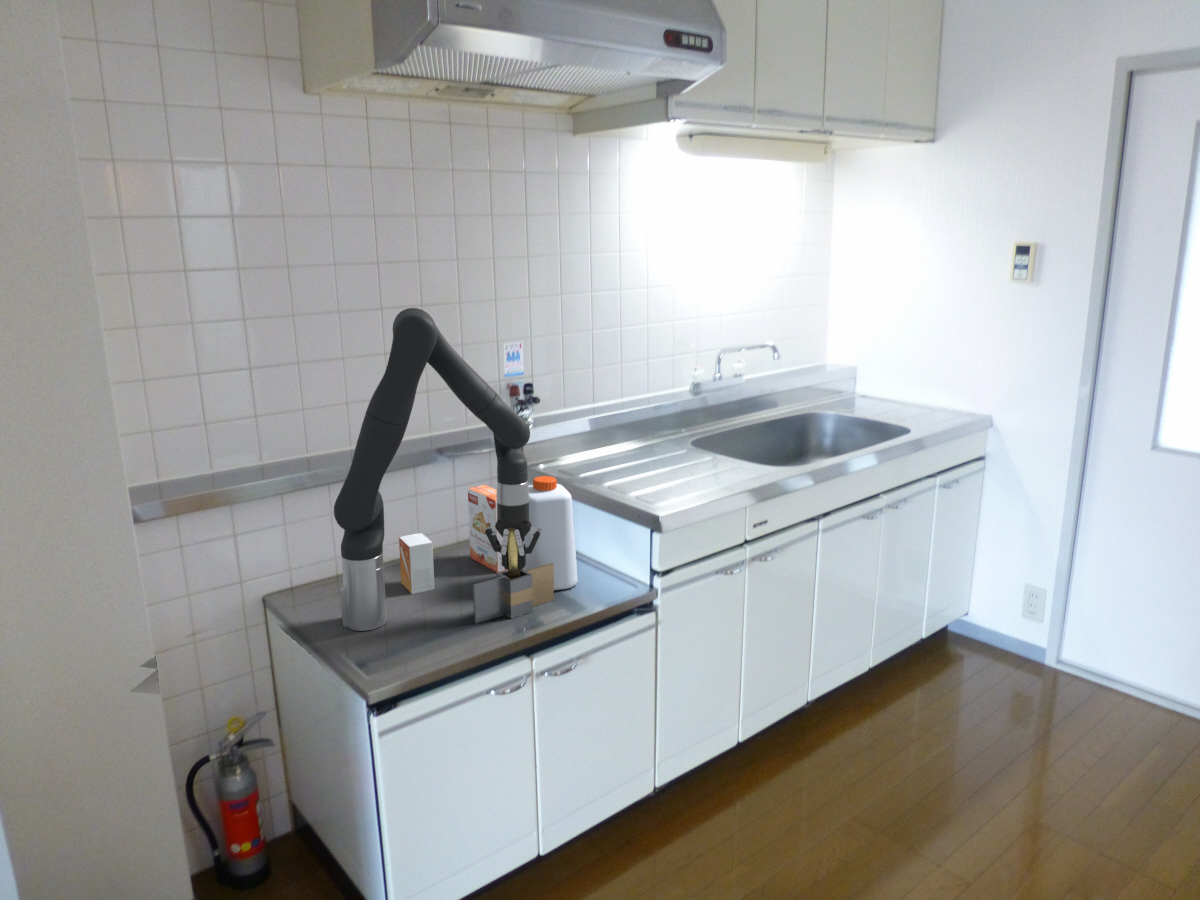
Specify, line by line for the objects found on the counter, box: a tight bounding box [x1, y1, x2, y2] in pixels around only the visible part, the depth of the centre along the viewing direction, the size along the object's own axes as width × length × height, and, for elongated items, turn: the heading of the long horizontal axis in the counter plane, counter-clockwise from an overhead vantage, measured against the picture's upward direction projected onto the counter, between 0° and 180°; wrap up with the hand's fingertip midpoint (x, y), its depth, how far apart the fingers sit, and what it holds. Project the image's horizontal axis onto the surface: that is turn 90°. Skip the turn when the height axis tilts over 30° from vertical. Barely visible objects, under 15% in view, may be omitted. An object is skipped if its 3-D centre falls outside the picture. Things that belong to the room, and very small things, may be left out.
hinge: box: [472, 563, 555, 625], centre depth 209 cm, size 22×6×10 cm, turn 128°
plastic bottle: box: [523, 475, 579, 591], centre depth 224 cm, size 15×15×28 cm
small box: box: [398, 532, 435, 595], centre depth 222 cm, size 8×6×13 cm
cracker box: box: [467, 484, 508, 574], centre depth 237 cm, size 14×6×21 cm, turn 39°
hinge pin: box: [507, 528, 520, 579], centre depth 206 cm, size 3×3×14 cm
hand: (514, 568), depth 207 cm, fingers closed on hinge pin, 3 cm apart
